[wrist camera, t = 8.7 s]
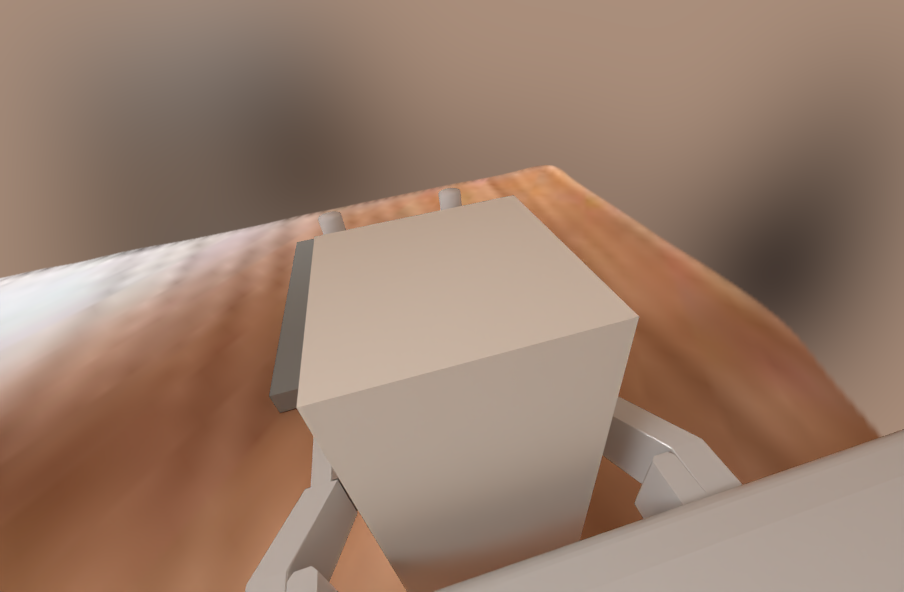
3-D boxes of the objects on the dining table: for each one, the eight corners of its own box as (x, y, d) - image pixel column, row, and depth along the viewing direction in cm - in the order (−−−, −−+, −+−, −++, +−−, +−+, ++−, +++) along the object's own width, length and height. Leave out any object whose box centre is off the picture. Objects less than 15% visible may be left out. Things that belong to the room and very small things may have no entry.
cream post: (433, 635, 13) (296, 407, 5) (410, 492, 17) (314, 236, 9) (567, 586, 13) (639, 316, 6) (515, 459, 17) (513, 195, 9)
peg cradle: (279, 412, 21) (239, 351, 18) (302, 256, 35) (282, 206, 32) (574, 334, 23) (582, 268, 20) (484, 217, 37) (481, 167, 34)
